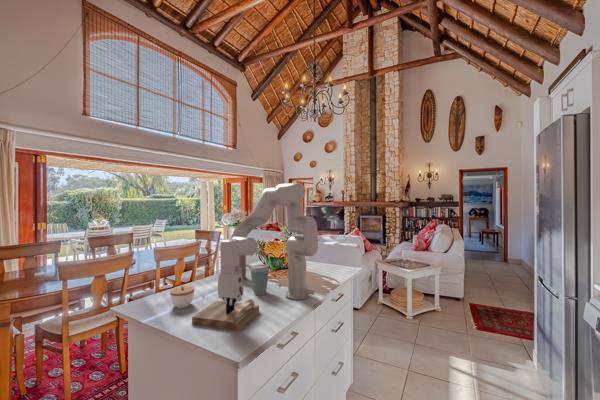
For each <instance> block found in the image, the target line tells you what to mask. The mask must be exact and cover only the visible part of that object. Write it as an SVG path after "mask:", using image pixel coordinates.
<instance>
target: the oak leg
mask: <svg viewBox="0 0 600 400" xmlns="http://www.w3.org/2000/svg"><path fill="white" fill-rule="evenodd" d="M254 305H255V300H254V299H251V298H250V299H247V300H245V301H244V302H242V304H241V305H240V306H239V307H237V308H236V309H234V310H233V311H232V312H230V313H229V314H227V322H235V321H236V320H237V319H238V318H240V317H241V316H242V315H243V314H245V313H246V312H247V311H248V310H250V309H251V308H252V307H253V306H254Z"/></svg>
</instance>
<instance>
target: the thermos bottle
mask: <svg viewBox="0 0 600 400" xmlns="http://www.w3.org/2000/svg"><path fill="white" fill-rule="evenodd" d="M246 256H247V255H243V256H239V267H240V268H241V271H239V272H241V274H242V279H243V280H245V279H246V278H247V275H246V274H247V270H246V269H247V266H246V263H247V262H246V259H247V257H246Z"/></svg>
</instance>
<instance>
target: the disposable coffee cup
mask: <svg viewBox="0 0 600 400" xmlns="http://www.w3.org/2000/svg"><path fill="white" fill-rule="evenodd" d="M270 270H271V268H270V265H269V264H256V265H253V266H251V267H250V276H251V282H252V291H253V293H254V295H256V296H257V295H258V296H261V295H265V294H266V292H267V287H268V280H269V274H270Z"/></svg>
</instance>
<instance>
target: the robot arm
mask: <svg viewBox="0 0 600 400" xmlns="http://www.w3.org/2000/svg"><path fill="white" fill-rule="evenodd" d="M306 191H307V190H306V188H305V185H303V184H302V183H301V182H290V183H289V182H286V183H280V184H277V185H276V186H275V187H267V188H265V189H263V190H262V192H261V194H260V195H259V197H258V199H257V201H256V203H255V205H254V207H253V208H252V210H251V212H250V214H249V215H247V216H246V217H245V218H244V219H243V220H241V222H239V224H237V226H236V227H235V229H234V230H233V232H232V234H231V236H230V238H226V239H223V240H221V242H220V245H219V247H220V272H219V275H218V280H217V293H218V295H217V296H218V298H219V299H222V301H224V302H225V305H226V314H229V313H230V312H232V311H233V310H234V304H235V303H239V302H241V301H242V300H243V298H242V296H243V295H244V279H242V274H241V272H239V271H241V268H240V267H239V256H243V255H246V256H252V255H254V254H255V253H256V252H257V251H258V249H259V243H258V241H257V240H256V239H255V238H252V237H249V234H250V233H251V232H252V231H254V230H255V229H256V228H260V227H261V226H264V225H265V224H266V223H268V222H269V219H270V217H271V215H272V213H273V211H274V209H275V207H276V206H278V207H279V206H280V207H281V206H283V207H284V206H285V209H286V219H287V228H288V231H289V232H290V233H291V234H297V235H291V236H290V237H288V239H287V240H286V243H285V247H286V254H287V265H288V267H287V274H288V277H287V278H288V279H287V280H288V291H286V292H285V297H286V298H287V299H289V300H295V301H299V300H301V301H302V300H305V299H308V298H309V297H310V295H311V296H312V295H313V296H314V295H315V290H314V289H311V288H310V289H309V286H307V260H306V257H313V256H315V255H316V254H317V253H318V249H319V240H318V239H319V238H318V225H317V222H316V219H315V218H314V217H313V216H309V215H304V210H303V209H304V208H303V207H304V206H303V203H302V201H301V200H303V199H304V198H305V196H306V193H307V192H306Z"/></svg>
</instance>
